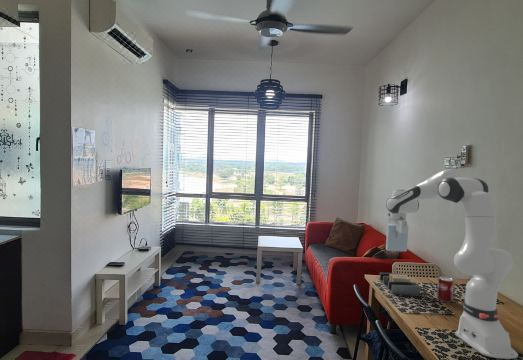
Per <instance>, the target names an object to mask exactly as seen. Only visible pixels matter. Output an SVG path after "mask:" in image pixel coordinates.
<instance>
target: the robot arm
mask: <svg viewBox="0 0 523 360" xmlns="http://www.w3.org/2000/svg"><path fill="white" fill-rule="evenodd" d="M438 198H441V199H443V200H446V201H449V202H453V203H461V204H463V207H464V216H465V217H464V219H465V235H464V240H463V243H462V245H461V247H460V249H459V250H458V251H457V252H456V253H455V255H454V257H453V263H454V267H455V268H456V270H457V271H458V272H460V273H461V274H464V275H469V276H472V278H471V279H469V281H467V283H466V285H465V294H464V300H463V303H462V310H463V311H462V314H461V315H460V317H459V321H458V322H459V323H458V329H457V330H456V331H455V333H454V335H455V336H456V337H457V338H459V339H460V340H462V341H463V342H465V343H466V344H467V345H469V346H470V347H472V348H473V349H474V350H476V351H477V352H479V353H480V354H481V355H482V356H487V357H489V358H496V359H506V360H509V359H517V358H518V357H519V354H518V352H517V351H516V350H515V349H514V348H513V347H512V346H511V338H510V332H508V331H506V330H505V328H504V326H503V325H502V323H501V322H500V318H501V315H500V314H499V312H498V309H497V300H498V293H499V290H500V286H501V284H502V281H503V280H504V278H505V276H506V275H507V274H508V272H510V271H511V270H512V269H513V267H514V259H513V256H512V255H511V254H510V252H508V251H507V250H505V249H501V248H496V247H490V246H491V244H492V242H493V240H494V239H495V238H496V237H498V236H497V235H498V229H497V228H498V227H497V213H496V207H495V203H494V200H493V197H492V194H490V193H489V186H488V184H487V182H485V181H484V180H482V179H480V178H475V177H462V176H461V177H459V174H458V173H457V172H456V171H454V170H452V169H444V170H442V171H439V172H437V173H435V174H433V175H431V176H430V177H428V178H427V179H425V180H423V181H422V182H420V183H418V184H417V185H414V186H412V187H410V188H408V189H394V190H393V191H392V194H391V196H390V197H388V199H387V200H386V203H385V207H386V209H387V210H388V211H389V212H388V213H387V216H388V222H387V223H388V224H390V225H396V228H395V230H396V231H397V233H398V234H397V237H396V238H398V239H400V236H401V234H407V231H408V232H409V225H408V221H407V220H406V219H407V214H413V213H416V212H417V211H418V210H419V208H420V202H419V200H434V199H435V200H436V199H438Z"/></svg>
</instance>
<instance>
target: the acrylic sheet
mask: <svg viewBox="0 0 523 360" xmlns="http://www.w3.org/2000/svg"><path fill="white" fill-rule="evenodd" d="M395 228H396V225H390V224H387V225H386V241H385V251H387V252H407V251H408V237H409V230H408V231H407V234H401V236H400V239H398V238H396V237H397V234H398V233H397V231H396V230H395Z"/></svg>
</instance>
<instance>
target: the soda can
mask: <svg viewBox="0 0 523 360" xmlns="http://www.w3.org/2000/svg"><path fill="white" fill-rule="evenodd" d="M453 292H454V279H453V278H451V277H449V276H439V277H438V280H437V293H436V297H437V299H438V300H439V301H440V302H443V303H452V302H453V299H454V298H453V296H454V295H453V294H454V293H453Z"/></svg>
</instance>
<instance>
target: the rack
mask: <svg viewBox="0 0 523 360" xmlns="http://www.w3.org/2000/svg"><path fill="white" fill-rule="evenodd" d="M389 274H399V275H407V274H406V273H401V272H400V273H397V272H395V273H393V272H379V277H378V280H379V281H380V282H381V284H382V285H383V286H384V287H385V288H386V289H387V290H388V291H389V292H390V294H391V295H407V294H409V296H411V295H412V296H414V295H415V296H420V295H421V286H420V285H417V282H413V281H410V282H394V281H389ZM408 277H409V278H410V279H411V277H410V276H408Z"/></svg>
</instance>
